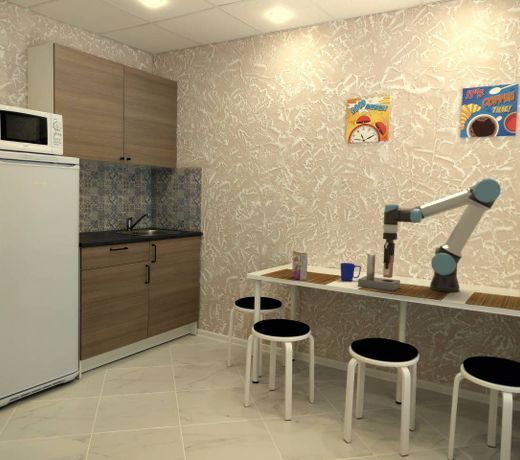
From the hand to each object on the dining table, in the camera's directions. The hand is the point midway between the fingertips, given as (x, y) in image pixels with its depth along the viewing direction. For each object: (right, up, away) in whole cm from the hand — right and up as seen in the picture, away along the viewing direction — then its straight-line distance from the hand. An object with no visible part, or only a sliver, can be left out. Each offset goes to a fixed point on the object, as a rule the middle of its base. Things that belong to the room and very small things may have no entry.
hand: (388, 274), depth 255 cm
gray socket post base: (-4, -7, +3) cm, 9 cm away
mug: (-17, -6, +20) cm, 27 cm away
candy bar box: (-47, -5, +23) cm, 53 cm away
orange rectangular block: (0, -2, 0) cm, 2 cm away
